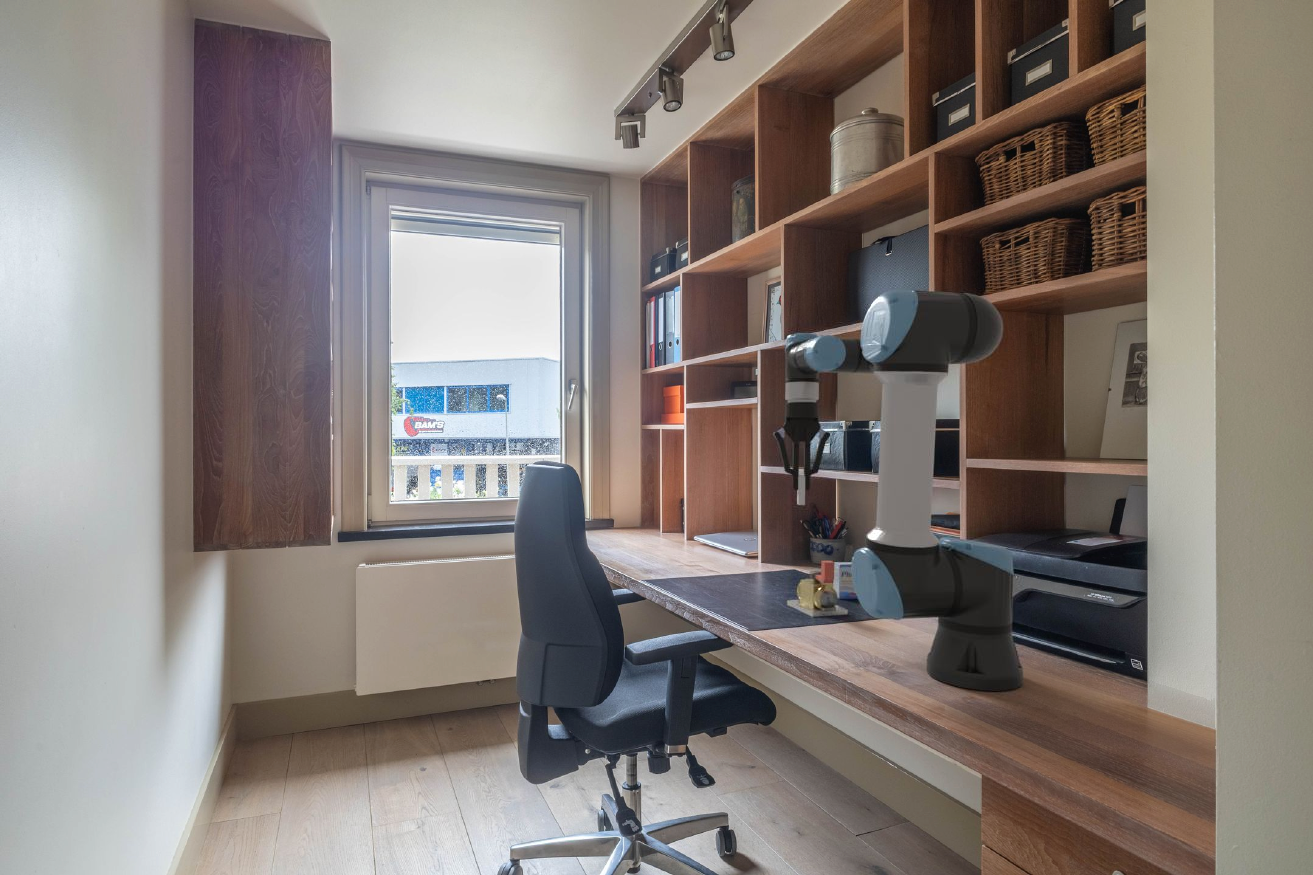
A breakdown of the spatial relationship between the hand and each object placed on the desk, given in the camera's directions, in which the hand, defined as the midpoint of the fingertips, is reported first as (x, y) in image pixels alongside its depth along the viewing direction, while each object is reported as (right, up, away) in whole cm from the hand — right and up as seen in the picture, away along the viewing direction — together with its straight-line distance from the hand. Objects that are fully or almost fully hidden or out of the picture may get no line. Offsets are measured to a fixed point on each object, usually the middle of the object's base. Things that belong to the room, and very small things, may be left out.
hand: (801, 504), depth 168 cm
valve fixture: (+4, -25, +3) cm, 25 cm away
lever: (+5, -18, 0) cm, 18 cm away
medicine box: (+16, -25, +16) cm, 34 cm away
